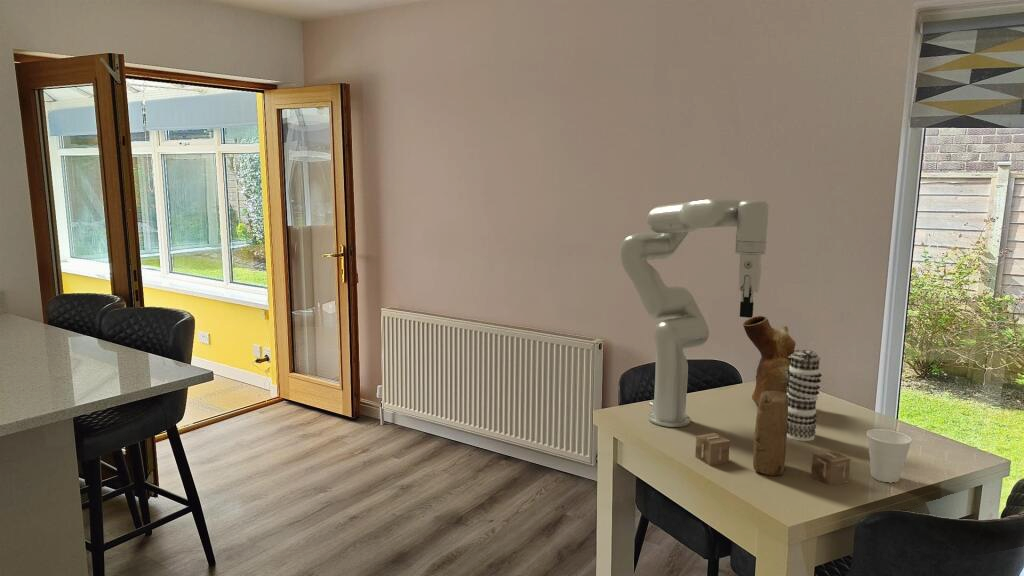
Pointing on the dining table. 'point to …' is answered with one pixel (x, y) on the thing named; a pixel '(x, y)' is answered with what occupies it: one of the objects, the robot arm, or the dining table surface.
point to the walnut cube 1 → (712, 449)
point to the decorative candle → (802, 394)
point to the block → (771, 433)
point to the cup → (887, 454)
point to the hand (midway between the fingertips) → (746, 316)
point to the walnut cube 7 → (830, 467)
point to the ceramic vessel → (770, 355)
